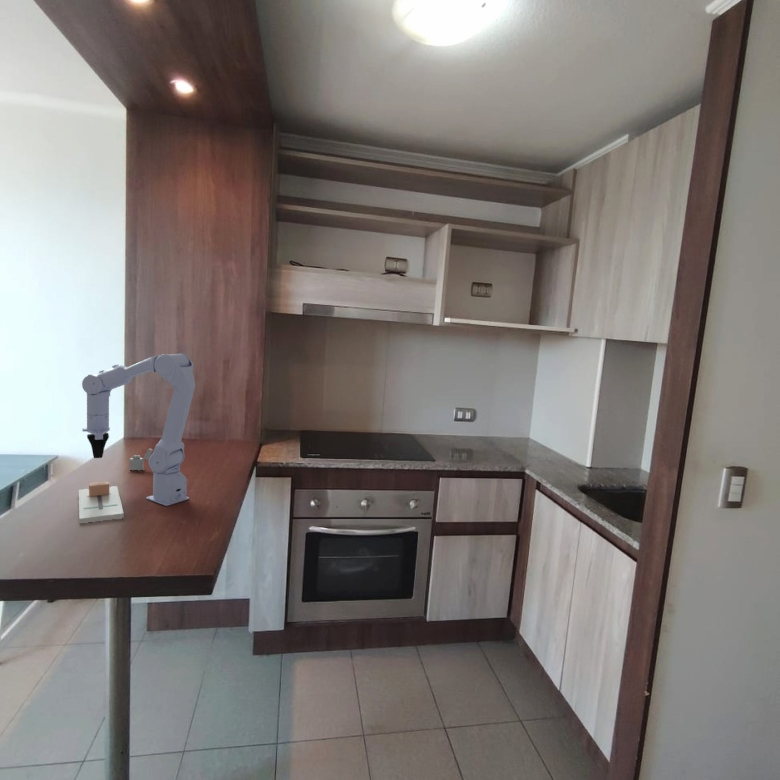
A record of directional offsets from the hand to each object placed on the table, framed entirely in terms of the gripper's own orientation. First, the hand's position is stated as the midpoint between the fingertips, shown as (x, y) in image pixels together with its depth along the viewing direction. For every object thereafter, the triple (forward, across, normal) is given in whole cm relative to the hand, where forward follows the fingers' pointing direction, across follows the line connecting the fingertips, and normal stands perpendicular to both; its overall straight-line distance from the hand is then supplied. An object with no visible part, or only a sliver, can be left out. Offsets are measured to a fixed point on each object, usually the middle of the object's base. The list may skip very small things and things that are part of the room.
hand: (97, 457), depth 148 cm
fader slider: (+8, +9, 0) cm, 12 cm away
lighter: (+11, -18, +14) cm, 25 cm away
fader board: (+10, +14, 0) cm, 18 cm away
